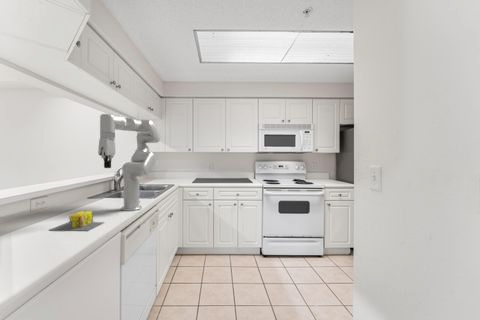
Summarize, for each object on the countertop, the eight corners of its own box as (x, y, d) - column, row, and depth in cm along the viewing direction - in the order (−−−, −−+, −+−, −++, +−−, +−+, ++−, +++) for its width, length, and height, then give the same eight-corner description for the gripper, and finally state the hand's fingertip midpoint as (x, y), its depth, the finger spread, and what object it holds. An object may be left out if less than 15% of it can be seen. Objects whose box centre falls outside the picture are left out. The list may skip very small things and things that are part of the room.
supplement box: (93, 221, 133) (81, 227, 122) (82, 221, 132) (69, 227, 122) (93, 210, 133) (81, 216, 122) (82, 210, 132) (68, 216, 121)
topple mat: (69, 222, 132) (69, 221, 132) (104, 222, 132) (104, 222, 132) (48, 230, 118) (48, 229, 118) (87, 231, 118) (87, 230, 118)
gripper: (108, 136, 148) (108, 167, 148) (93, 134, 133) (93, 168, 133) (120, 137, 148) (120, 167, 148) (106, 135, 133) (106, 168, 133)
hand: (107, 167), depth 141 cm, fingers closed
